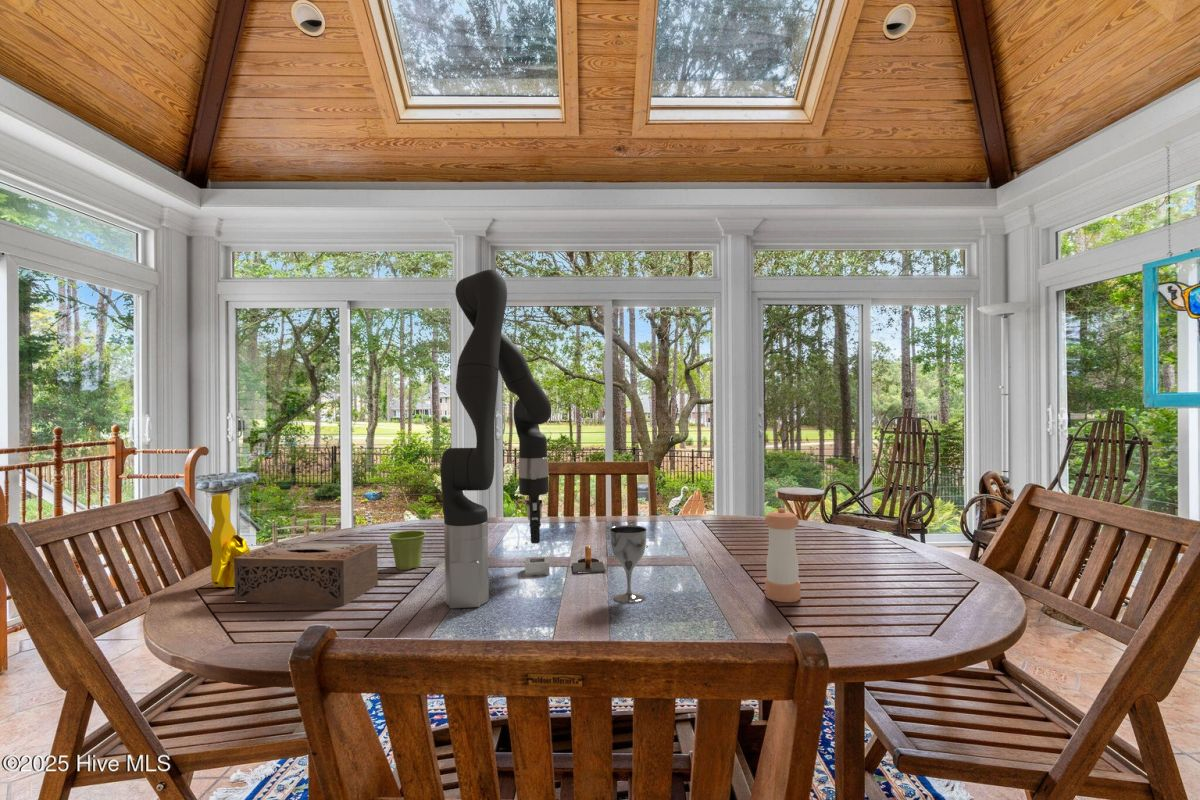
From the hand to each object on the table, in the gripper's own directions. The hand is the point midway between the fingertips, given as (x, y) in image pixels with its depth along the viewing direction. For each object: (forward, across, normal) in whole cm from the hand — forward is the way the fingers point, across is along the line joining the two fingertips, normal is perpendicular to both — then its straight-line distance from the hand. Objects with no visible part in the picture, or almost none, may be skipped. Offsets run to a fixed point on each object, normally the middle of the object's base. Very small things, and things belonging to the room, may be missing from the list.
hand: (534, 538), depth 152 cm
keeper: (+8, 0, +14) cm, 16 cm away
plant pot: (+9, -10, -33) cm, 36 cm away
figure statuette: (+8, -2, -73) cm, 74 cm away
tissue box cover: (+8, +8, -52) cm, 53 cm away
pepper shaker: (+8, +30, +53) cm, 61 cm away
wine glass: (+8, +25, +20) cm, 33 cm away
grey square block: (+8, +1, 0) cm, 8 cm away
